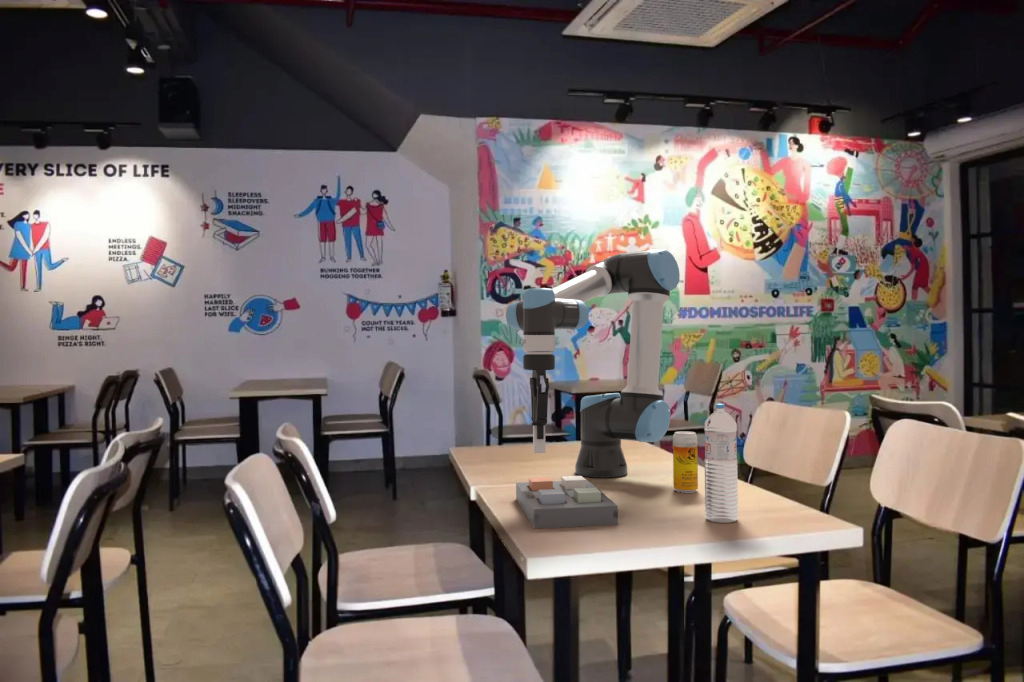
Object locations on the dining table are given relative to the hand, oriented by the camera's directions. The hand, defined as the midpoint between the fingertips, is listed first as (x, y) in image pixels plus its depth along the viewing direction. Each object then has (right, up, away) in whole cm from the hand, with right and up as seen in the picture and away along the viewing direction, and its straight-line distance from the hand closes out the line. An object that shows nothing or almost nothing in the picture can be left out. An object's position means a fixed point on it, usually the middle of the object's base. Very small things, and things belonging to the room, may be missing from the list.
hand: (539, 452), depth 172 cm
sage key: (+10, -9, -13) cm, 19 cm away
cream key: (+8, -9, +1) cm, 13 cm away
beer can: (+38, -12, +13) cm, 42 cm away
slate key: (+2, -10, -14) cm, 17 cm away
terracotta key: (0, -10, 0) cm, 10 cm away
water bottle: (+39, -12, -16) cm, 44 cm away
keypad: (+5, -13, -6) cm, 15 cm away
